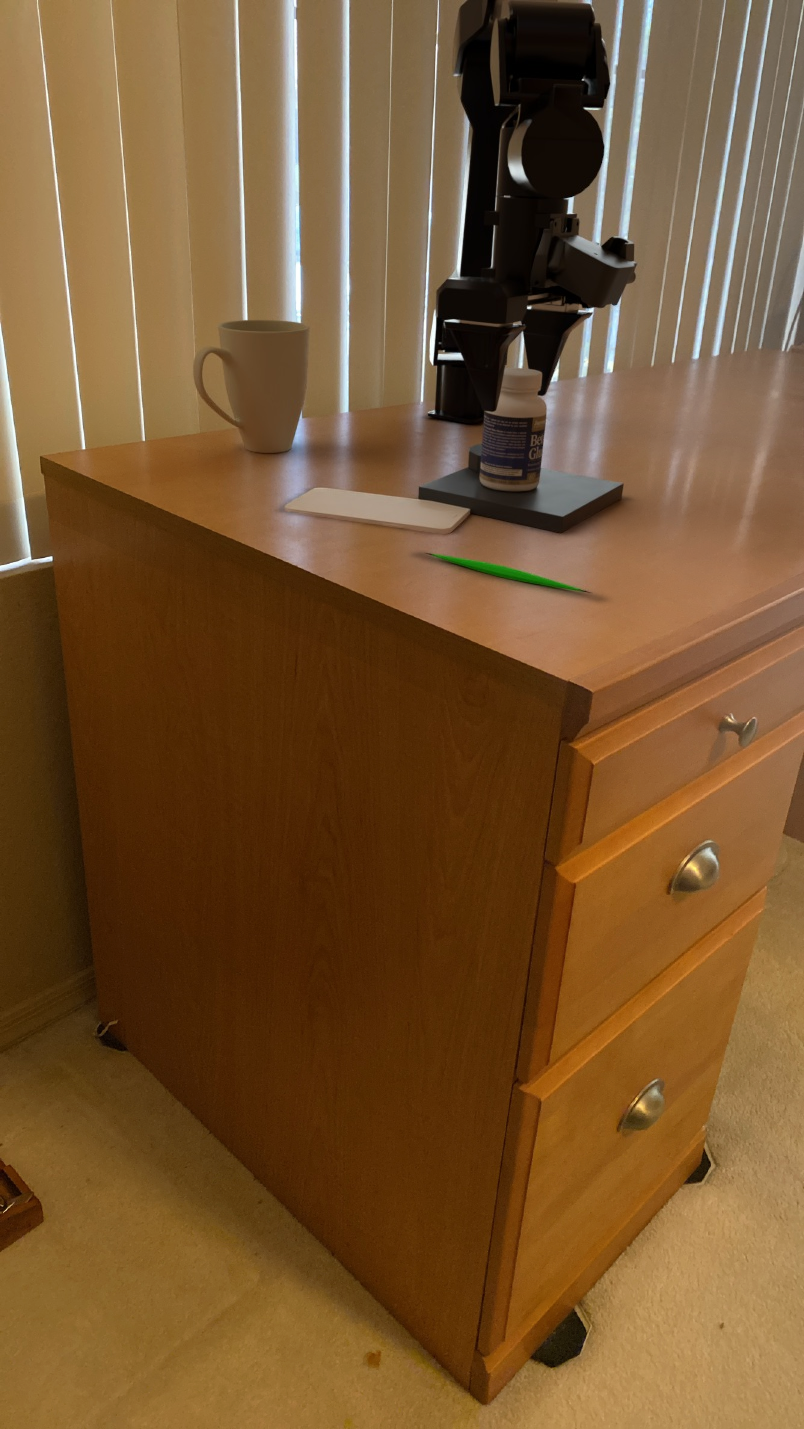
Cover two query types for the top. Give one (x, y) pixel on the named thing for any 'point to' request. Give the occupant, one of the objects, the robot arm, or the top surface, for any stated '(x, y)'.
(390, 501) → the smartphone
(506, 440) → the pill bottle
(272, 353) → the mug
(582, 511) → the scale
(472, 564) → the green tapered stick
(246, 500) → the top surface
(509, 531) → the top surface
